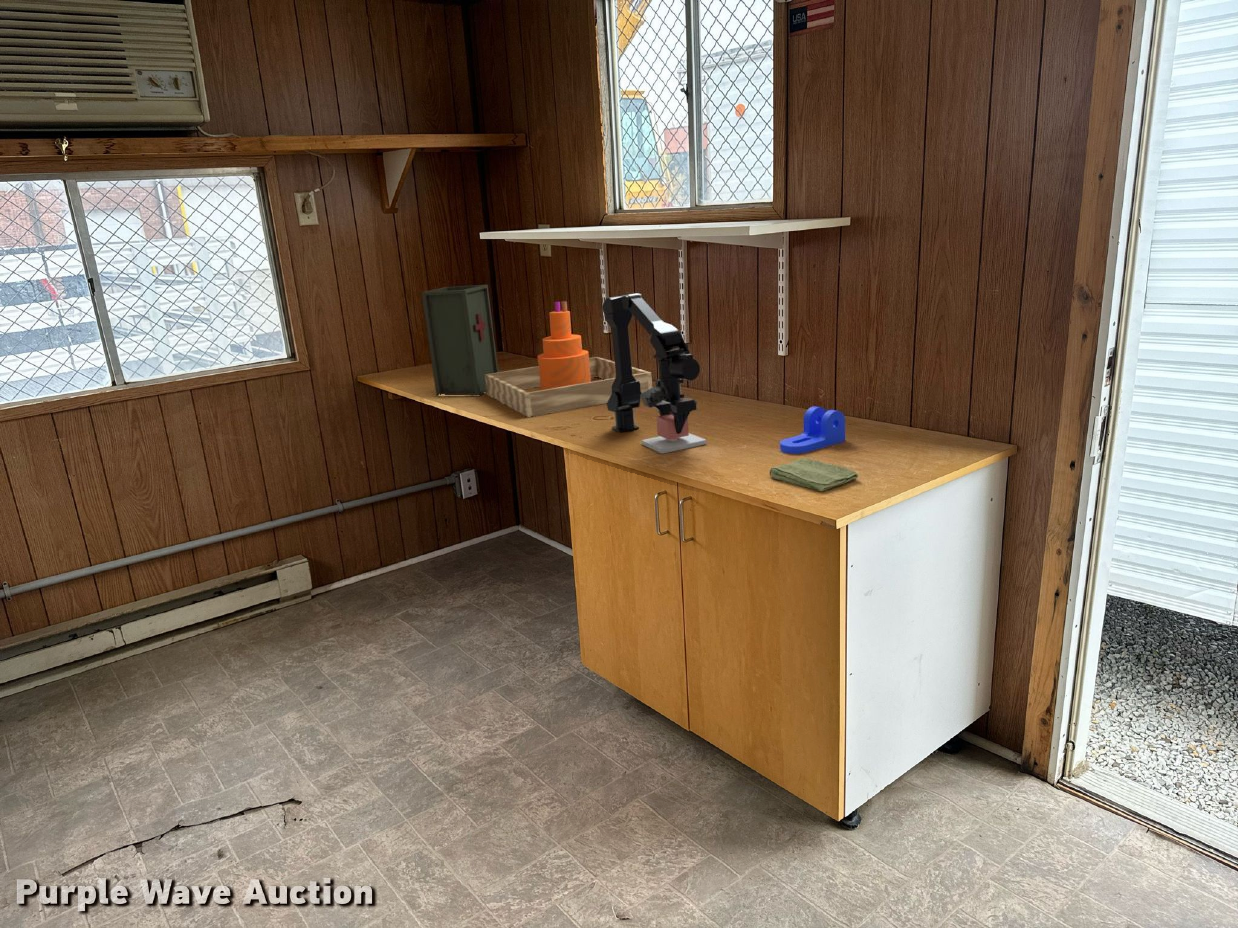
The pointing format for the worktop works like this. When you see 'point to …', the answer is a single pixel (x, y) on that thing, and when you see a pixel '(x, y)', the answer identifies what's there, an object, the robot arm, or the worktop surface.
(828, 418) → the bracket
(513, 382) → the storage crate
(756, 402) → the worktop surface
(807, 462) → the washcloth
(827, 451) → the worktop surface
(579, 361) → the cake
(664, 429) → the pink slotted box
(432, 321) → the first aid box
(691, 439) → the peg base plate
